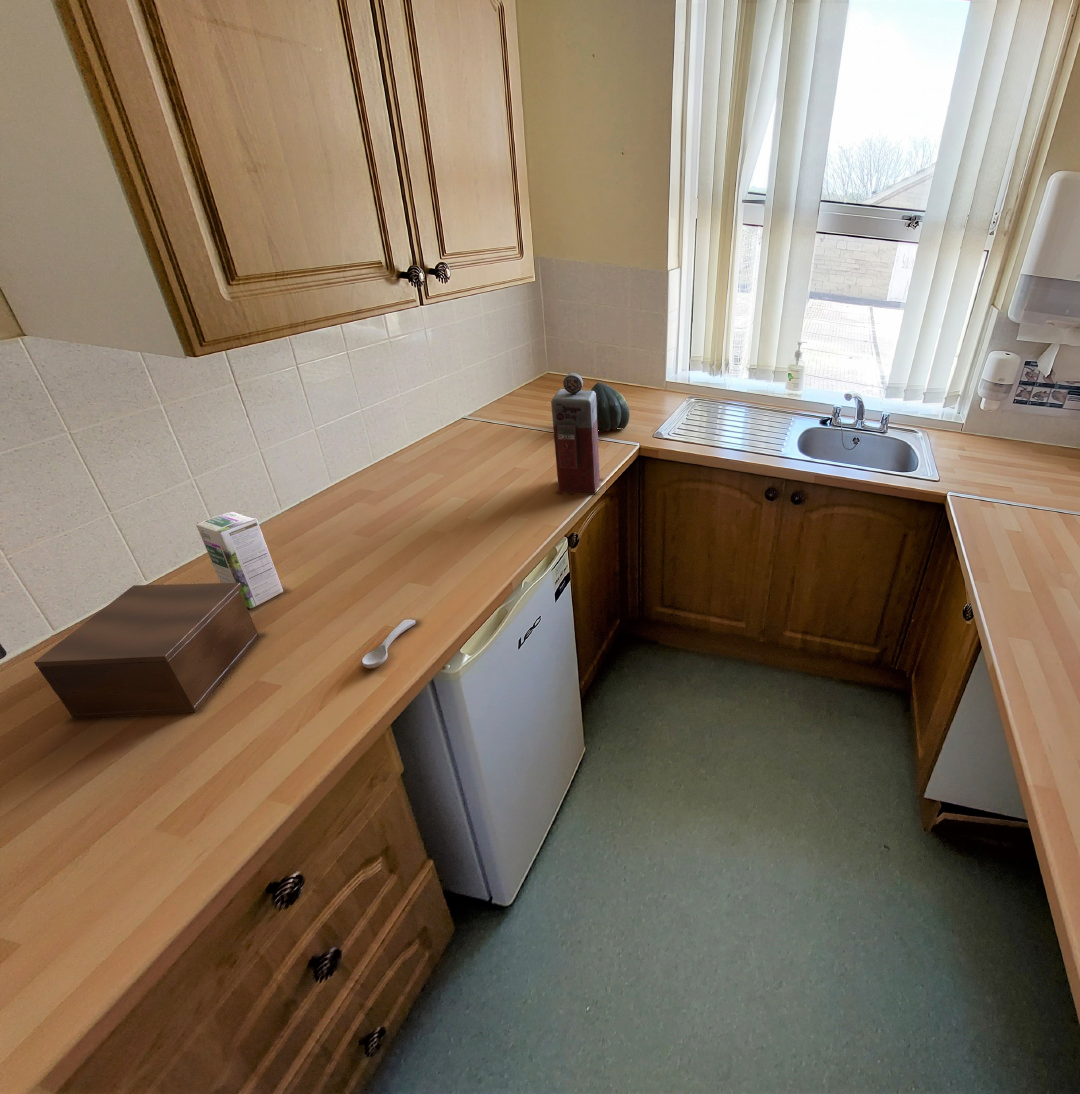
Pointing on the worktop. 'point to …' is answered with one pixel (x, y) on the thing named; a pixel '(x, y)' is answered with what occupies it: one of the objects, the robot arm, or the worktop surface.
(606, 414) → the squash
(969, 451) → the worktop surface
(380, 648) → the spoon
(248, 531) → the syrup box
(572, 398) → the vintage gas pump
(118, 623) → the lid
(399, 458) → the worktop surface
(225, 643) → the walnut box
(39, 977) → the worktop surface
